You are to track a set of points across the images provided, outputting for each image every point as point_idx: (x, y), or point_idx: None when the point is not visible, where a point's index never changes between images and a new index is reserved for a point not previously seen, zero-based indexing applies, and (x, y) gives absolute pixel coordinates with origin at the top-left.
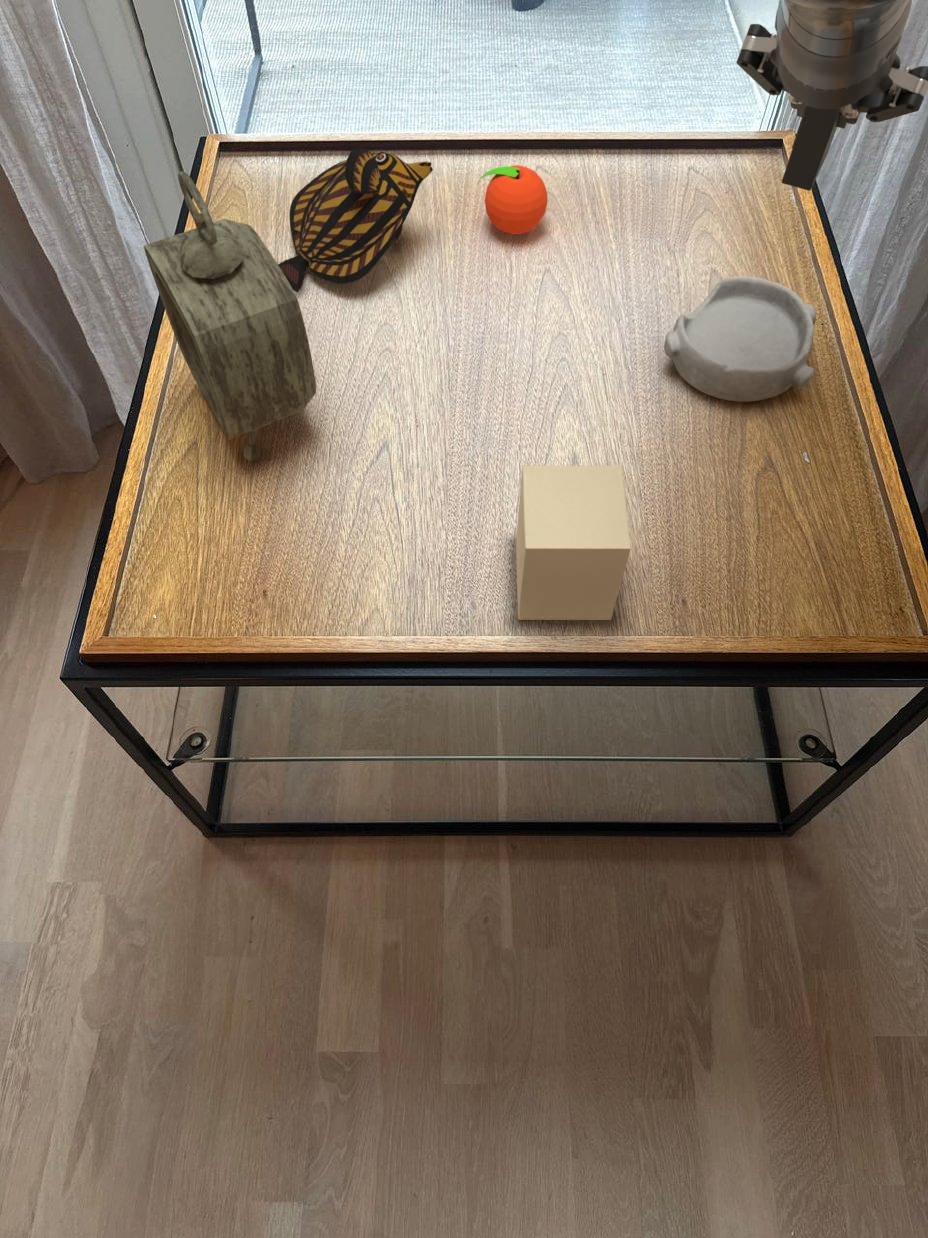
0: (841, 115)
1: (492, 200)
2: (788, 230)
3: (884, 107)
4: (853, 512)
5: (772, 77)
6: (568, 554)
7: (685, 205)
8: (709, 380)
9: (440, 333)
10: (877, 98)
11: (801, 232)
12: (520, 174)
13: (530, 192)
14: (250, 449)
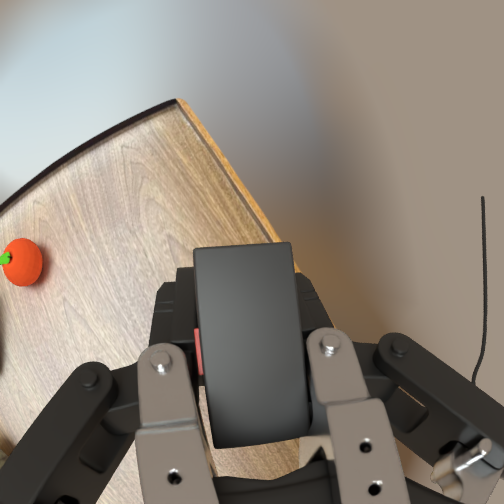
0: None
1: (9, 280)
2: (206, 168)
3: (411, 445)
4: None
5: (107, 469)
6: None
7: (128, 180)
8: None
9: (42, 388)
10: (382, 393)
11: (215, 165)
12: (11, 254)
13: (22, 266)
14: None
